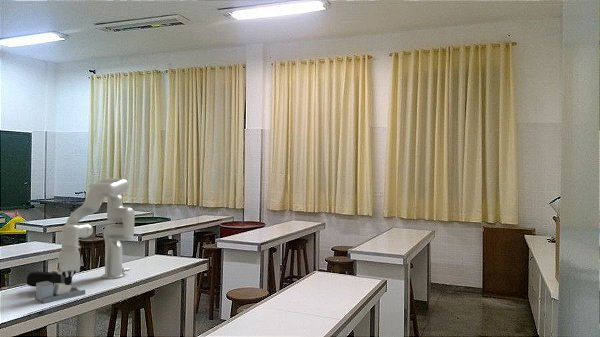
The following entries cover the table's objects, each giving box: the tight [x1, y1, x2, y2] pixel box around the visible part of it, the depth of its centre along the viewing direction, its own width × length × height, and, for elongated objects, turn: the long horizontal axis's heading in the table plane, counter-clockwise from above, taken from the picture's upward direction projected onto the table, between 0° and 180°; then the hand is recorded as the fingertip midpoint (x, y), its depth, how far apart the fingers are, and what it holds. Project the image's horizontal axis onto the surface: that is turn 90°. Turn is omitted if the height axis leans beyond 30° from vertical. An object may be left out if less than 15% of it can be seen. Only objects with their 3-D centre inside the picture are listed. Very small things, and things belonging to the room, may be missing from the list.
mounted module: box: [35, 281, 53, 301], centre depth 207 cm, size 5×7×8 cm
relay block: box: [51, 269, 65, 284], centre depth 239 cm, size 5×6×7 cm
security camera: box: [26, 271, 61, 287], centre depth 221 cm, size 7×18×10 cm, turn 78°
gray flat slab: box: [34, 286, 86, 305], centre depth 213 cm, size 20×10×2 cm, turn 142°
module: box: [53, 283, 72, 295], centre depth 213 cm, size 5×6×6 cm
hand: (67, 284), depth 215 cm, fingers closed
